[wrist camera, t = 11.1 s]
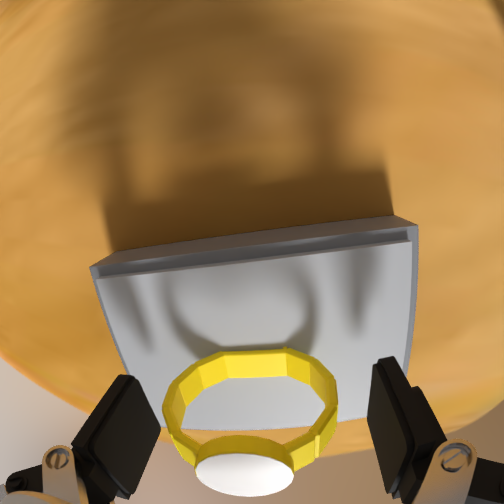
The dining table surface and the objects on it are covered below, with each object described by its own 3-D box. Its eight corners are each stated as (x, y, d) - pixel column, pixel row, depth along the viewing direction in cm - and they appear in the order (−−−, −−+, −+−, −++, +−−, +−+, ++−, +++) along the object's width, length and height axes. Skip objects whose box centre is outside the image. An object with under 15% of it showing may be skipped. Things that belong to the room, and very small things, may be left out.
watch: (321, 325, 11) (365, 436, 6) (321, 376, 12) (352, 484, 6) (176, 338, 12) (131, 448, 6) (191, 387, 12) (163, 494, 7)
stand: (165, 398, 17) (150, 430, 14) (115, 251, 14) (84, 269, 11) (387, 381, 15) (401, 414, 12) (394, 214, 13) (422, 227, 10)
